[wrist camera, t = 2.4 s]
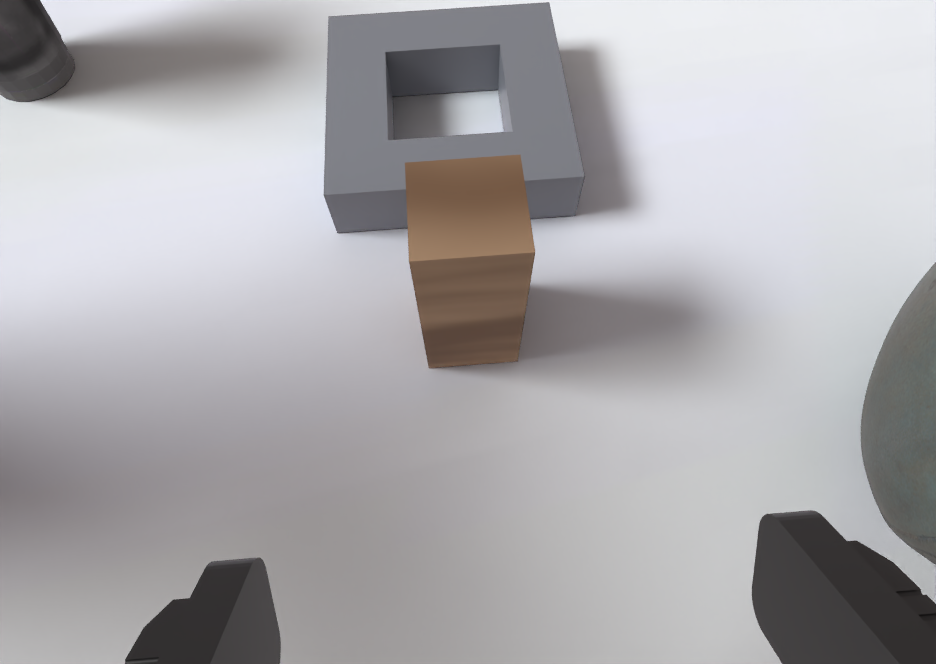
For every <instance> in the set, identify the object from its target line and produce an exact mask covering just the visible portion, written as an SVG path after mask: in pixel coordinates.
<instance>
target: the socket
mask: <svg viewBox="0 0 936 664" xmlns="http://www.w3.org/2000/svg"><path fill="white" fill-rule="evenodd" d="M484 90H498V92H499V100H500V107H501V114H502V122H503V129H504V132H499V133H484V134H470V135H455V136H441V137H426V138H412V139H398V140H394V127H393V99H392V97H395V96H410V95H425V94H440V93H455V92H469V91H484ZM520 154H521V161H522V168H523V174H524V181H525V188H526V194H527V201H528V208H529V214H530V219H535V218H549V217H562V216H575V214H576V210H577V206H578V202H579V197H580V193H581V189H582V185H583V181H584V177H585V176H584V171H583V166H582V161H581V156H580V151H579V146H578V141H577V136H576V132H575V127H574V122H573V117H572V112H571V107H570V102H569V97H568V92H567V87H566V83H565V78H564V73H563V68H562V63H561V58H560V53H559V48H558V43H557V38H556V33H555V29H554V24H553V19H552V14H551V9H550V4H549V2H547V3H531V4H516V5H500V6H484V7H469V8H453V9H438V10H422V11H407V12H391V13H376V14H360V15H344V16H329V22H328V58H327V95H326V132H325V169H324V197H325V200H326V203H327V205H328V208H329V211H330V214H331V217H332V219H333V222H334V225H335V228H336V231H337V233H342V232H356V231H370V230H383V229H397V228H408V224H407V201H406V179H405V163H406V162H420V161H434V160H449V159H463V158H477V157H492V156H506V155H520Z"/></svg>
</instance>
